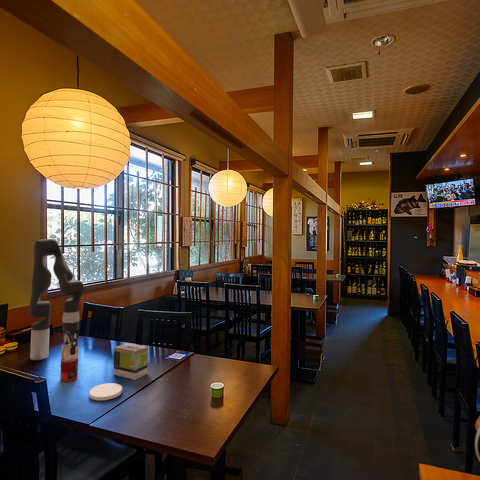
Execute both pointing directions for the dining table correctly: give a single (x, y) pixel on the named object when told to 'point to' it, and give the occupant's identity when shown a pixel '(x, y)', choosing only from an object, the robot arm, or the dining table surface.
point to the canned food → (69, 370)
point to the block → (68, 352)
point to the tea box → (130, 360)
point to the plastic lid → (105, 391)
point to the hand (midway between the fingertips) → (69, 352)
